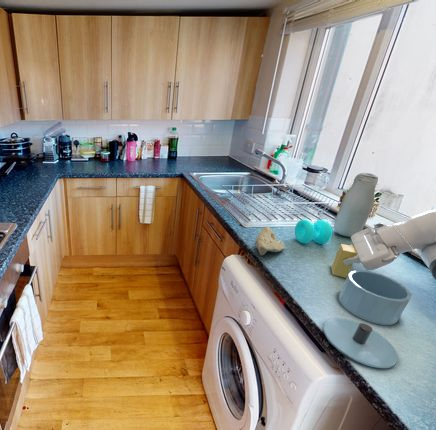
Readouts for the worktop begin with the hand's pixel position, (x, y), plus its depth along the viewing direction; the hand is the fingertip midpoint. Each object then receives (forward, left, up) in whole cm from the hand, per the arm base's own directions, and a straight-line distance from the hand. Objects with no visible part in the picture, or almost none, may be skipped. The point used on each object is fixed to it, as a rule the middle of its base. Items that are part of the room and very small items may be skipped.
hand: (342, 257), depth 98 cm
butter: (-1, 0, -6) cm, 6 cm away
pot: (-6, +17, -6) cm, 19 cm away
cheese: (+22, 0, -6) cm, 23 cm away
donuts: (+7, -20, -6) cm, 22 cm away
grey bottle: (-7, -36, -6) cm, 37 cm away
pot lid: (-1, +35, -5) cm, 35 cm away
